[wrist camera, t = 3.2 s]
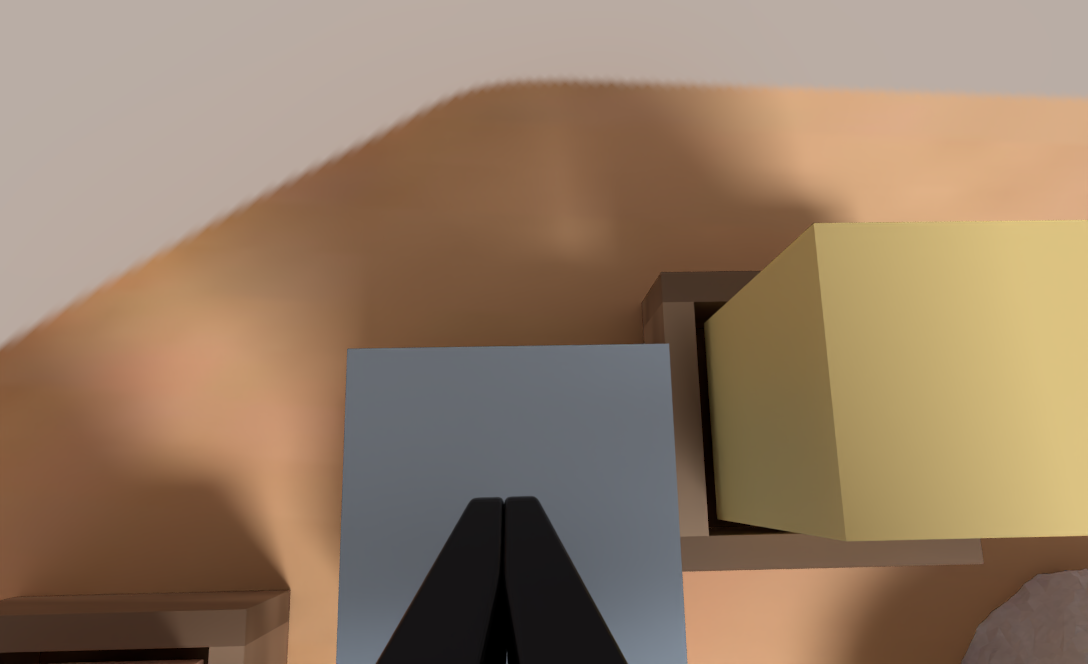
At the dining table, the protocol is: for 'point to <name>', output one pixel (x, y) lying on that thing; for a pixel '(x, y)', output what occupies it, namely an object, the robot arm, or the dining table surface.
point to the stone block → (1037, 624)
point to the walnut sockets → (263, 616)
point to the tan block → (145, 662)
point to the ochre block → (907, 383)
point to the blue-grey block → (512, 477)
